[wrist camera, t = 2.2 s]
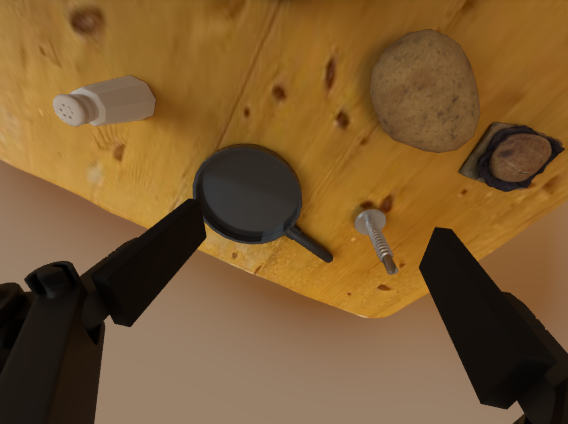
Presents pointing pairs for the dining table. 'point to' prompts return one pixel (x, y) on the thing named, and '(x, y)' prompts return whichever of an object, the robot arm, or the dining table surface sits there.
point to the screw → (376, 236)
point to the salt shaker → (106, 102)
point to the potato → (426, 92)
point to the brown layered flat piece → (511, 156)
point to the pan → (248, 193)
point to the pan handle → (307, 243)
